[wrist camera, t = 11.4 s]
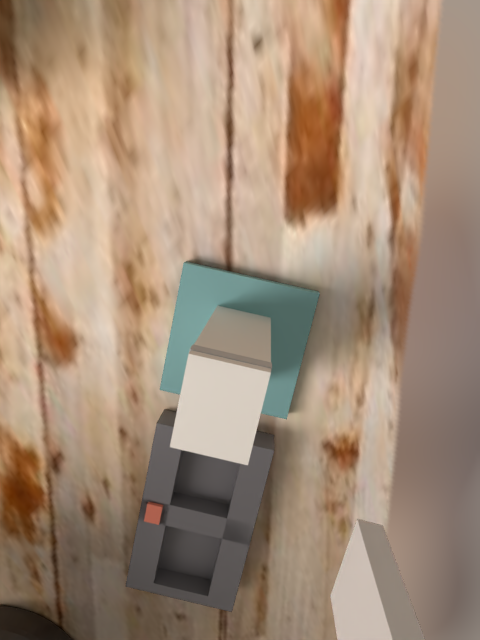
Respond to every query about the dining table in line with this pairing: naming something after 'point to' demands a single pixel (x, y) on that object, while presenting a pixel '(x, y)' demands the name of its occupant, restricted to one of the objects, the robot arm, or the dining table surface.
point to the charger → (224, 386)
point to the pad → (248, 296)
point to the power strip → (196, 520)
